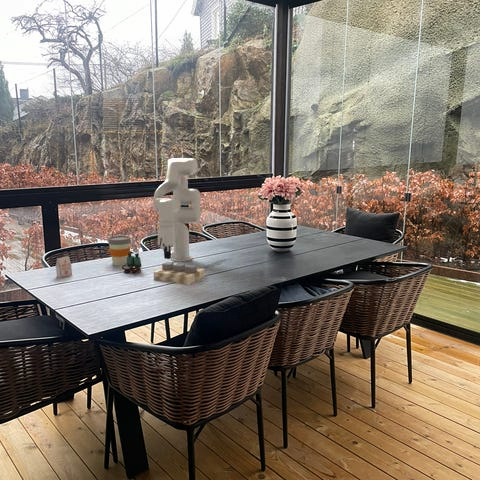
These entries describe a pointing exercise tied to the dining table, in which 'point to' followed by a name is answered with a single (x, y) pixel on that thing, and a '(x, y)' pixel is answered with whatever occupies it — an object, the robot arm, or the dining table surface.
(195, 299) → the dining table surface
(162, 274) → the switch unit
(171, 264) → the button
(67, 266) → the tea bag
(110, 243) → the reusable coffee cup
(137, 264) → the green tank cart
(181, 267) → the button
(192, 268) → the button
